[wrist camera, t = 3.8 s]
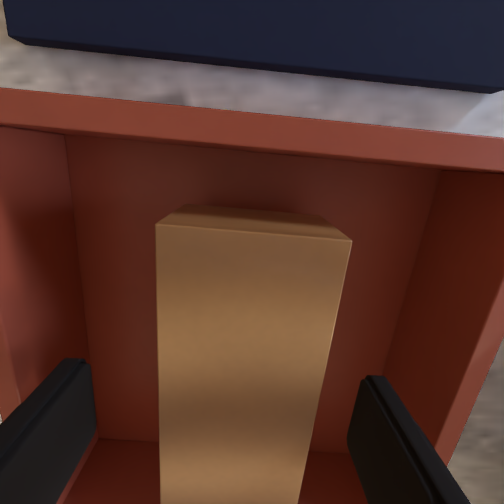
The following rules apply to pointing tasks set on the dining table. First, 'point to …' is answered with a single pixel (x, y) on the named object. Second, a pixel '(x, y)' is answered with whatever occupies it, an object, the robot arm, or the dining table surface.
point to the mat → (286, 36)
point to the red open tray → (257, 198)
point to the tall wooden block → (242, 349)
